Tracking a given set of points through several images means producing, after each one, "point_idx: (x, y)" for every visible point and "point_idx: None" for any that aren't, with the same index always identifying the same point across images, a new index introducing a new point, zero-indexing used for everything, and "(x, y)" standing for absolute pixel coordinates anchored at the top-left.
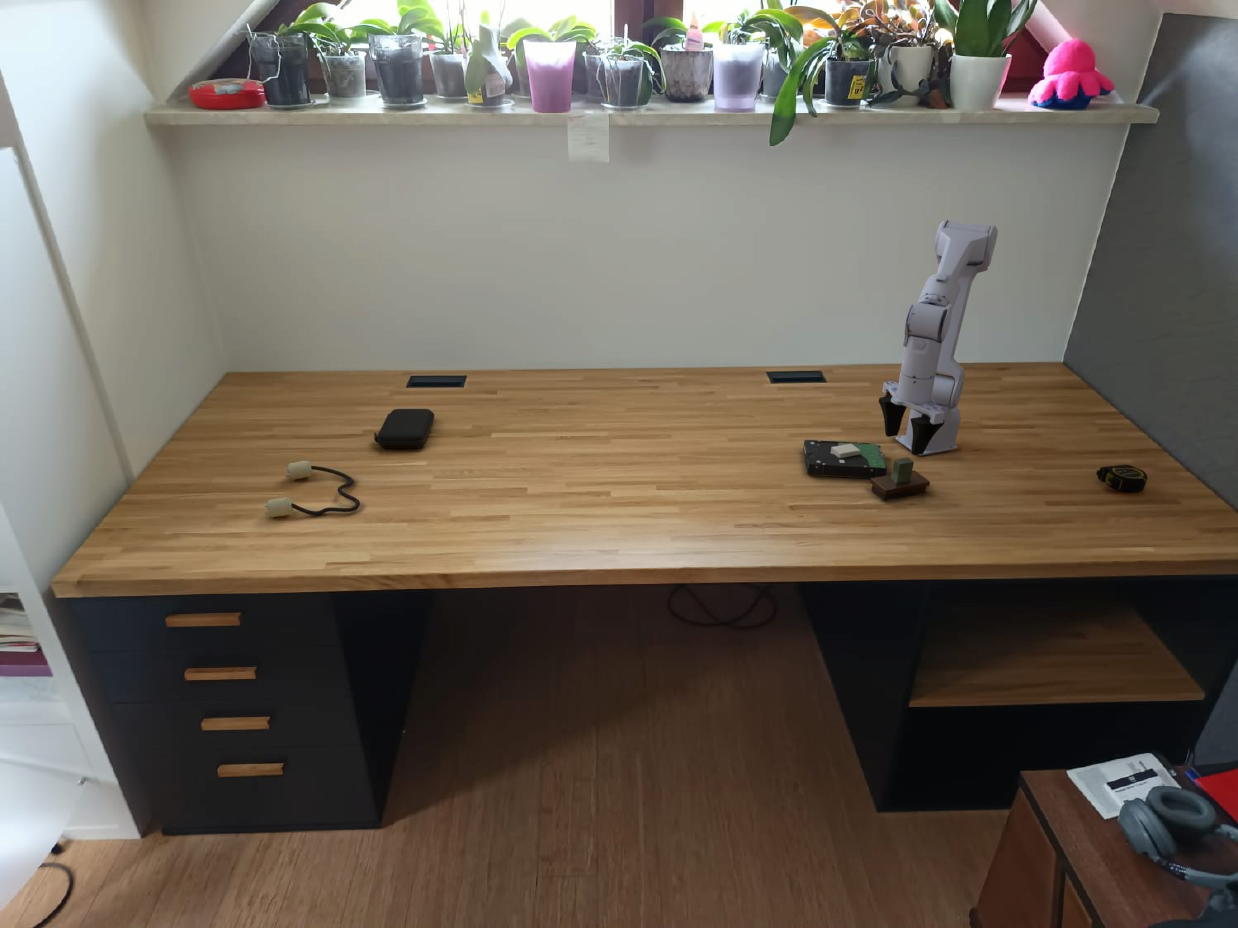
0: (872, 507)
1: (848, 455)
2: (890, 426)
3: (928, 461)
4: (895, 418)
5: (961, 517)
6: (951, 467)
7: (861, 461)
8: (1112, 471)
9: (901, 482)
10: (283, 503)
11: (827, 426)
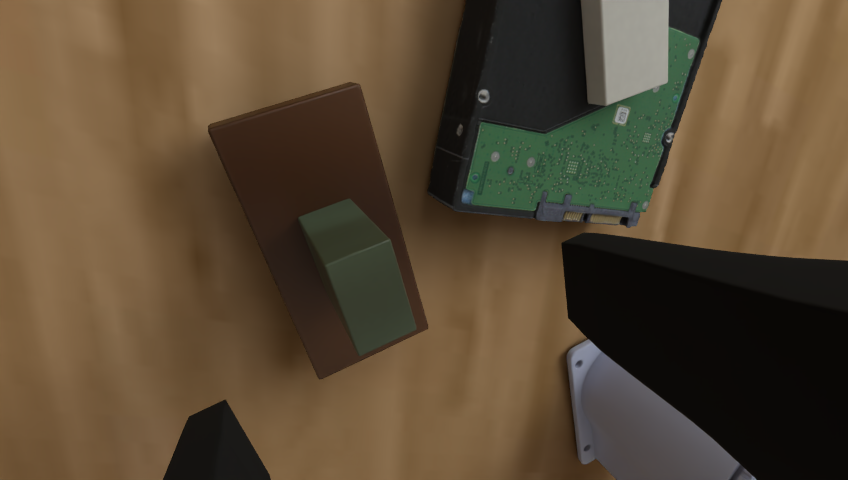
0: (137, 30)
1: (587, 33)
2: (642, 293)
3: (532, 375)
4: (718, 374)
5: (82, 454)
6: (486, 438)
7: (531, 92)
8: None
9: (307, 246)
10: None
11: (803, 82)
